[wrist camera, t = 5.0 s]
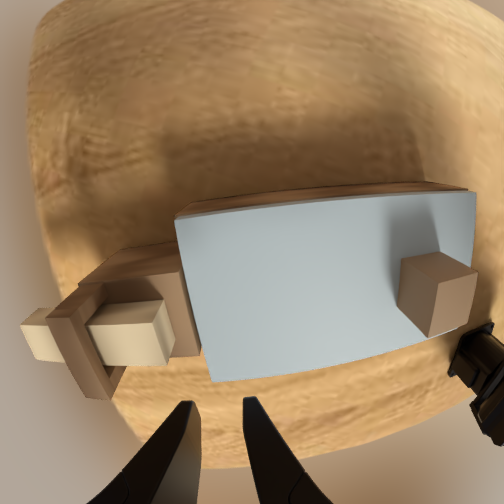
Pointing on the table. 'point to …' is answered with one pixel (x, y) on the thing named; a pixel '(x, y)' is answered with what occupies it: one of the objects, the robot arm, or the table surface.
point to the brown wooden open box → (166, 284)
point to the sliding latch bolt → (112, 334)
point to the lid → (326, 279)
